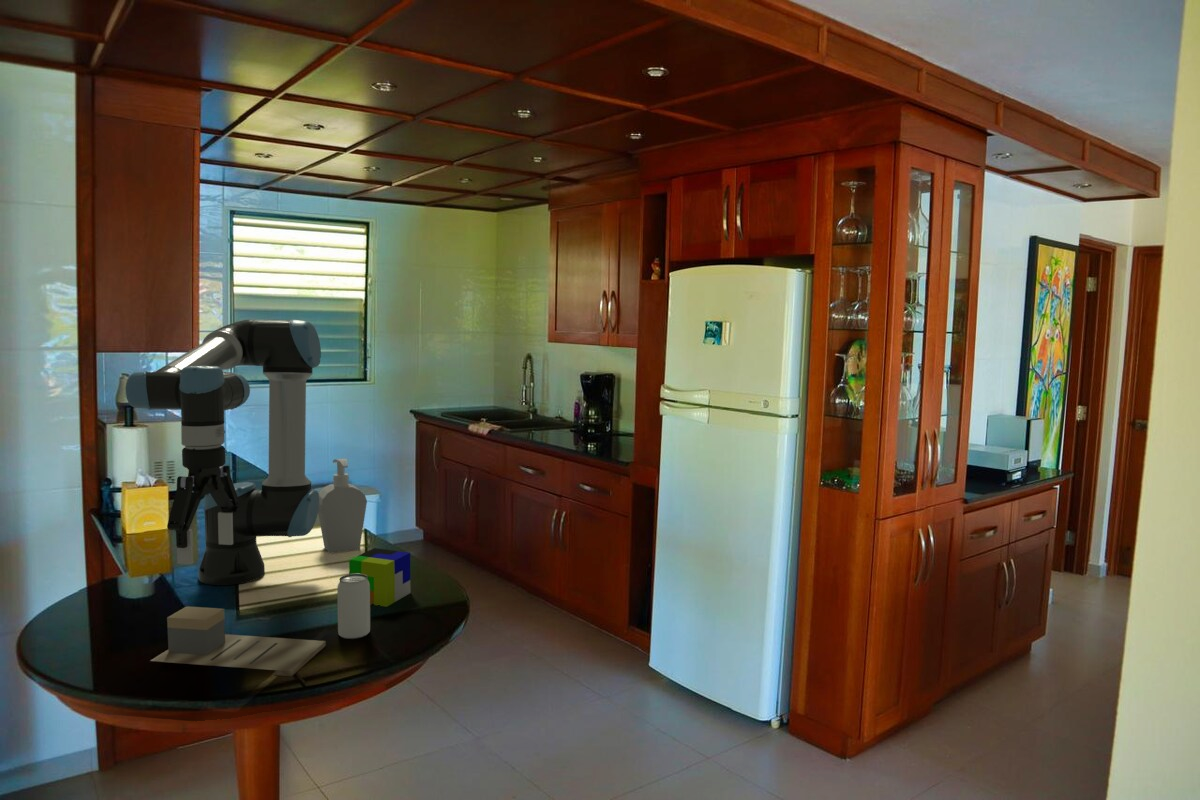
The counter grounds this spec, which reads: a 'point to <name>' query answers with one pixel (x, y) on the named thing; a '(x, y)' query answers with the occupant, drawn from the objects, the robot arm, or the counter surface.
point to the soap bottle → (341, 512)
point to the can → (353, 606)
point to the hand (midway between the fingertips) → (206, 553)
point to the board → (254, 654)
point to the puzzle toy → (384, 574)
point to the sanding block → (196, 630)
